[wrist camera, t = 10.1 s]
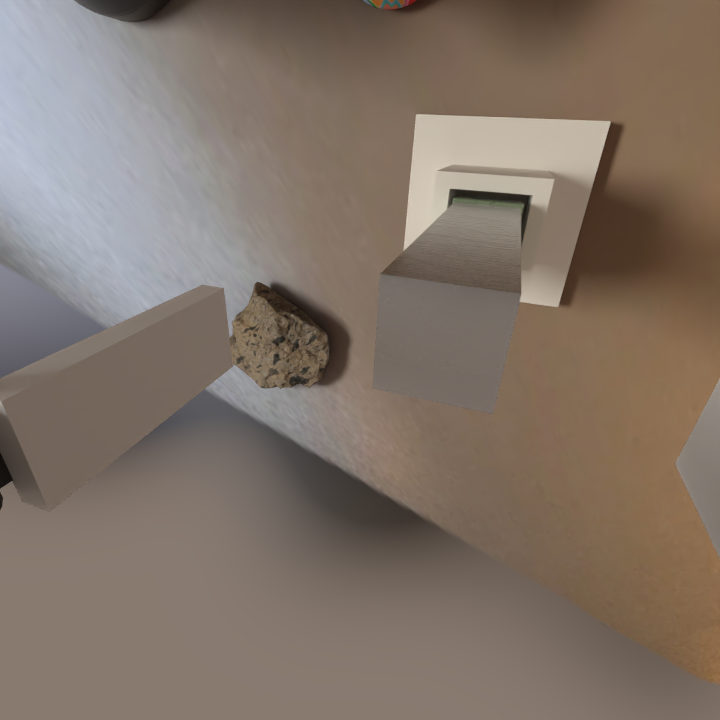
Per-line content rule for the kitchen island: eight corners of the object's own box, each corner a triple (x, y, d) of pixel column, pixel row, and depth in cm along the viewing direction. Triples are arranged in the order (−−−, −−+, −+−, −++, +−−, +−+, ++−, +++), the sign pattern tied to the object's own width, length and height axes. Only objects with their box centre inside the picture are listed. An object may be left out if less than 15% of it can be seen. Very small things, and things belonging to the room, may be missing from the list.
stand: (418, 114, 34) (389, 108, 27) (608, 121, 31) (637, 116, 23) (403, 281, 41) (376, 313, 33) (557, 303, 37) (566, 345, 30)
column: (458, 193, 29) (375, 268, 12) (523, 198, 28) (528, 289, 11) (449, 255, 31) (368, 391, 15) (510, 262, 30) (497, 419, 13)
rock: (304, 398, 52) (287, 418, 48) (229, 339, 52) (207, 354, 48) (351, 338, 46) (336, 356, 42) (266, 270, 46) (244, 282, 42)
